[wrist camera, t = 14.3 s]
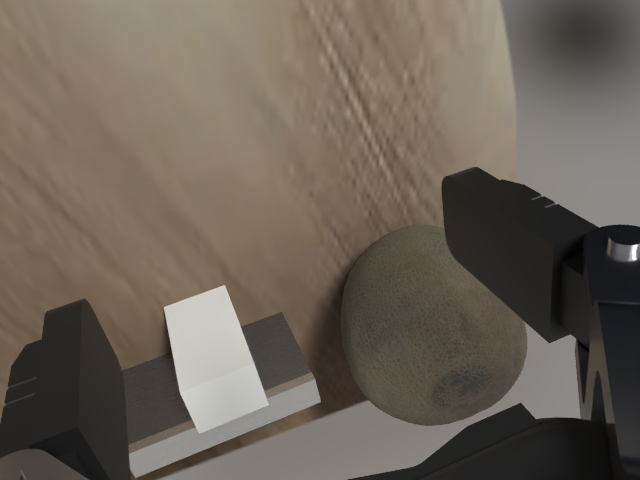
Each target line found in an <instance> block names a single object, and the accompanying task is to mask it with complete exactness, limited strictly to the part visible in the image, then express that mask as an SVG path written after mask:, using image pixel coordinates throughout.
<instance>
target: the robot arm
mask: <svg viewBox="0 0 640 480" xmlns="http://www.w3.org/2000/svg"><path fill="white" fill-rule="evenodd" d="M442 201H443V214H444V227H445V238H446V242H447V245H448V248H449V250H450V252H451V254H452V255H453V257H454V258H455V260H456V261H457V262H459V263H460V264H461V265H462V266H463V267H464V268H465V269H466V270H468V271H469V272H470V273H471V274H472V275H473V276H474V277H475V278H476V279H478V280H479V281H480V282H481V283H482V284H483V285H484V286H485V287H487V288H488V289H489V290H490V291H491V292H492V293H493V294H494V295H496V296H497V297H498V298H499V299H500V300H501V301H502V302H503V303H505V304H506V305H507V306H508V307H509V308H510V309H511V310H512V311H514V312H515V313H516V314H517V315H518V316H519V317H520V318H521V319H523V320H524V321H525V322H526V323H527V324H528V325H529V326H530V327H532V328H533V329H534V330H535V331H536V332H537V333H538V334H540V335H541V336H542V337H543V338H544V339H545V340H546V341H547V342H548V343H551V342H553V341H556V340H558V339H560V338H563V337H565V336H567V335H570V334H571V335H572V336H574V337H575V338H576V347H575V357H576V368H577V380H578V391H579V404H580V416H581V419H577V418H542V419H535V418H534V417H533V416H532V415H531V414H530V412H529V411H528V410H527V409H526V408H525V407H524V406H523V405H522V404H521V403H519V404H517V405H515V406H512V407H510V408H508V409H506V410H503V411H501V412H499V413H497V414H494V415H492V416H490V417H488V418H485V419H483V420H481V421H479V422H476V423H474V424H472V425H470V426H468V427H466V428H465V429H463V430H462V431H461V432H460V433H458V434H457V435H456V436H455V437H453V438H452V439H451V440H450V441H448V442H447V443H446V444H445V445H444V446H442V447H441V448H440V449H438V450H437V451H436V452H435V453H433V454H432V455H431V456H430V457H429V458H427V459H426V460H425V461H423V462H422V463H421V464H419V465H417V466H415V467H411V468H407V469H401V470H396V471H391V472H385V473H380V474H375V475H370V476H364V477H359V478H353V479H348V480H640V227H639V226H633V225H621V224H619V225H608V226H603V227H600V228H599V227H597V226H595V225H594V224H592V223H590V222H588V221H587V220H585V219H583V218H581V217H580V216H578V215H576V214H574V213H573V212H571V211H569V210H567V209H566V208H564V207H562V206H560V205H559V204H557V205H555V203H554V202H553V201H552V200H550V199H548V198H546V197H542V196H541V194H540V193H538V192H536V191H534V190H532V189H531V188H529V187H527V186H525V185H523V184H519V183H515V182H511V181H507V180H498V179H497V178H495V177H493V176H492V175H490V174H488V173H487V172H485V171H483V170H482V169H480V168H478V167H473V168H470V169H467V170H464V171H461V172H458V173H455V174H452V175H449V176H446V177H445V178H444V179H443V181H442ZM8 387H9V389H8V390H7V393H6V398H5V404H6V406H4V408H3V413H2V418H1V423H0V480H131V477H130V462H129V447H128V432H127V417H126V402H125V386H124V379H123V374H122V371H121V367H120V364H119V362H118V359H117V357H116V355H115V353H114V351H113V349H112V347H111V345H110V343H109V341H108V339H107V337H106V335H105V333H104V331H103V329H102V327H101V325H100V323H99V321H98V319H97V317H96V315H95V313H94V311H93V309H92V307H91V305H90V304H89V302H88V301H87V300H86V299H82V300H79V301H76V302H73V303H70V304H67V305H64V306H61V307H58V308H55V309H52V310H49V311H47V312H46V313H45V318H44V326H43V333H42V340H39V341H36V342H33V343H30V344H27V345H26V346H25V347H24V349H23V350H22V352H21V353H20V355H19V356H18V357H17V359H16V360H15V362H14V363H13V365H12V367H11V372H10V377H9V382H8Z"/></svg>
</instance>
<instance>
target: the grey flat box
mask: <svg viewBox="0 0 640 480" xmlns="http://www.w3.org/2000/svg"><path fill="white" fill-rule="evenodd" d="M241 329H242V332H243V335H244V337H245V340H246V343H247V345H248V348H249V351H250V353H251V356H252V359H253V361H254V364H255V367H256V370H257V372H258V375H259V378H260V381H261V384H262V387H263V389H264V392H265V395H266V398H267V401H268V404H269V405H268V406H265V407H263V408H260V409H258V410H256V411H253V412H251V413H248V414H246V415H244V416H241V417H239V418H236V419H234V420H231V421H229V422H227V423H224V424H222V425H219V426H217V427H215V428H212V429H210V430H207V431H205V432H202V433H200V434H199V433H198V431H197V428H196V426H195V424H194V422H193V420H192V418H191V416H190V413H189V411H188V409H187V407H186V405H185V403H184V401H183V398H182V396H181V394H180V391H179V385H178V380H177V375H176V369H175V364H174V359H173V353H170V354H167V355H165V356H162V357H159V358H157V359H154V360H151V361H148V362H146V363H143V364H140V365H138V366H135V367H132V368H130V369H127V370H124V371H122V374H123V379H124V386H125V402H126V417H127V432H128V447H129V462H130V469H131V471H132V473H133V475H134V477H135V478H137V477H139V476H142V475H144V474H147V473H149V472H151V471H154V470H156V469H159V468H161V467H164V466H166V465H168V464H171V463H173V462H176V461H178V460H181V459H183V458H186V457H188V456H190V455H193V454H195V453H198V452H200V451H203V450H205V449H208V448H210V447H212V446H215V445H217V444H220V443H222V442H225V441H227V440H229V439H232V438H234V437H237V436H239V435H242V434H244V433H247V432H249V431H251V430H254V429H256V428H259V427H261V426H264V425H266V424H269V423H271V422H273V421H276V420H278V419H281V418H283V417H286V416H288V415H290V414H293V413H295V412H298V411H300V410H303V409H305V408H308V407H310V406H312V405H315V404H317V403H320V402H321V400H320V396H319V392H318V388H317V385H316V381H315V378H314V376H313V374H312V372H311V370H310V368H309V366H308V364H307V362H306V360H305V358H304V356H303V354H302V352H301V350H300V348H299V346H298V344H297V342H296V340H295V338H294V336H293V334H292V332H291V330H290V328H289V326H288V324H287V322H286V320H285V318H284V316H283V314H282V312H281V313H278V314H275V315H273V316H270V317H267V318H265V319H262V320H259V321H257V322H254V323H251V324H248V325H246V326H243V327H241Z"/></svg>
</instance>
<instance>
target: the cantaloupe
mask: <svg viewBox="0 0 640 480" xmlns="http://www.w3.org/2000/svg"><path fill="white" fill-rule="evenodd" d="M340 322H341V337H342V344H343V348H344V352H345V356H346V360H347V364H348V367H349V370H350V373H351V375H352V378H353V379H354V381H355V383H356V384H357V386H358V387H359V389H360V390H361V391H362V393H363V394H364V395H365V396H366V397H367V399H368V400H369V401H371V403H372V404H374V405H375V406H376V407H377V408H379V409H380V410H382V411H383V412H385V413H387V414H389V415H391V416H392V417H395V418H398V419H400V420H403V421H406V422H409V423H413V424H418V425H425V426H430V425H431V426H432V425H443V424H449V423H452V422H456V421H458V420H463V419H465V418H468V417H471V416H473V415H475V414H477V413H479V412H481V411H483V410H485V409H487V408H489V407H491V406H492V405H494V404H495V403H497V402H498V401H499V400H500V399H501V398H502V397H503V396H504V395H505V394H506V393H507V392H508V391H509V390H510V389H511V387H512V386H513V385H514V383H515V381H516V380H517V378H518V377H519V375H520V373H521V371H522V368H523V366H524V362H525V358H526V353H527V334H526V327H525V321H524V320H523V319H521V318H520V317H519V316H518V315H517V314H516V313H515V312H514V311H512V310H511V309H510V308H509V307H508V306H507V305H506V304H505V303H503V302H502V301H501V300H500V299H499V298H498V297H497V296H496V295H494V294H493V293H492V292H491V291H490V290H489V289H488V288H487V287H485V286H484V285H483V284H482V283H481V282H480V281H479V280H478V279H476V278H475V277H474V276H473V275H472V274H471V273H470V272H469V271H468V270H466V269H465V268H464V267H463V266H462V265H461V264H460V263H459V262H457V261H456V260H455V258H454V257H453V255H452V254H451V252H450V250H449V248H448V245H447V242H446V238H445V229H443V228H440V227H436V226H431V225H413V226H408V227H405V228H402V229H399V230H396V231H393V232H391V233H389V234H387V235H385V236H383V237H382V238H381V239H379V240H378V241H376V242H375V243H374V244H372V245H371V246H370V247H369V248H368V249H367V250H366V251H365V252H364V253H363V254H362V255H361V256H360V257H359V259H358V260H357V261H356V263H355V265H354V266H353V268H352V270H351V271H350V273H349V275H348V278H347V280H346V283H345V288H344V292H343V297H342V303H341V313H340Z"/></svg>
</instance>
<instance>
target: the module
mask: <svg viewBox="0 0 640 480" xmlns="http://www.w3.org/2000/svg"><path fill="white" fill-rule="evenodd" d="M164 311H165V316H166V322H167V327H168V332H169V338H170V343H171V348H172V353H173V359H174V364H175V369H176V375H177V380H178V385H179V391H180V394H181V396H182V398H183V401H184V403H185V405H186V407H187V409H188V411H189V413H190V416H191V418H192V420H193V422H194V424H195V426H196V428H197V431H198V433H199V434H200V433H202V432H205V431H207V430H210V429H212V428H215V427H217V426H219V425H222V424H224V423H227V422H229V421H231V420H234V419H236V418H239V417H241V416H244V415H246V414H248V413H251V412H253V411H256V410H258V409H260V408H263V407H265V406H268V405H269V404H268V401H267V398H266V395H265V392H264V389H263V387H262V384H261V381H260V378H259V375H258V372H257V370H256V367H255V364H254V361H253V359H252V356H251V353H250V351H249V348H248V345H247V343H246V340H245V337H244V335H243V332H242V329H241V327H240V324H239V321H238V319H237V316H236V313H235V311H234V308H233V305H232V303H231V300H230V297H229V295H228V292H227V290H226V287H225V285H223V286H221V287H218V288H215V289H212V290H210V291H207V292H204V293H202V294H199V295H196V296H193V297H191V298H188V299H185V300H182V301H180V302H177V303H174V304H171V305H169V306H166V307H164Z"/></svg>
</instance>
